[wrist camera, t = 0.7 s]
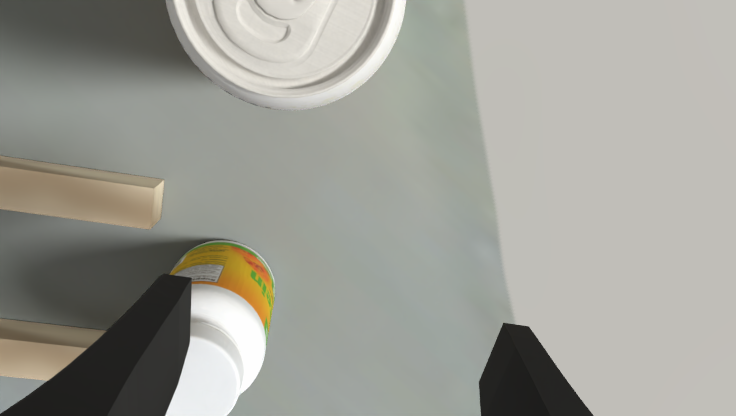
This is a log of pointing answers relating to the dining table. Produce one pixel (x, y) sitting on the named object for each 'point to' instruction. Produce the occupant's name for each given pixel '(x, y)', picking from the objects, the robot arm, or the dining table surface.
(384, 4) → the beer can
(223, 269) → the supplement bottle
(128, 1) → the dining table surface
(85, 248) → the dining table surface
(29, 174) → the slide channel
